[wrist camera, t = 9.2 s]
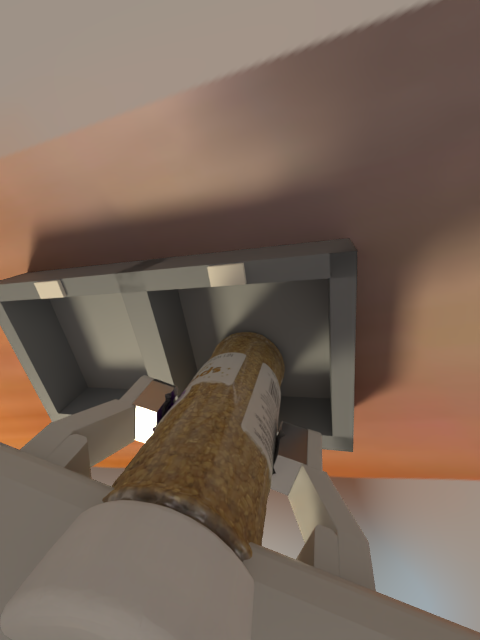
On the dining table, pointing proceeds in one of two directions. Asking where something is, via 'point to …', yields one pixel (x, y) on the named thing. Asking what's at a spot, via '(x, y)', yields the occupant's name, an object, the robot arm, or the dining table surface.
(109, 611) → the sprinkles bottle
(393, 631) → the robot arm
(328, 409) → the grey divided tray
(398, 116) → the dining table surface
